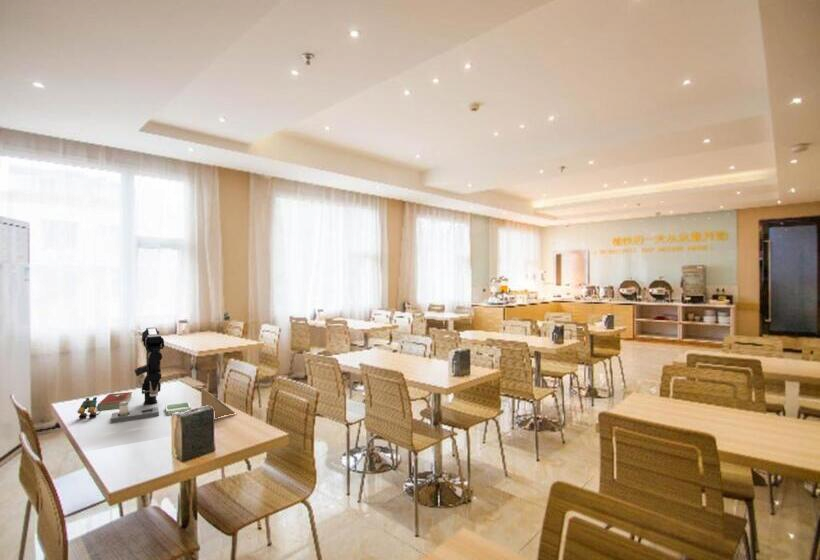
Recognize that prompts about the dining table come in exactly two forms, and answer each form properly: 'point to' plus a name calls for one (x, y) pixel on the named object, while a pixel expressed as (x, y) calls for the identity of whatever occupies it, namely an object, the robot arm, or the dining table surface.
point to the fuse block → (135, 414)
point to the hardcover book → (114, 400)
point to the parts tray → (177, 408)
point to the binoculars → (91, 405)
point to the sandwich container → (214, 404)
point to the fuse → (123, 408)
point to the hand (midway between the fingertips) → (153, 389)
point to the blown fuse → (153, 393)
